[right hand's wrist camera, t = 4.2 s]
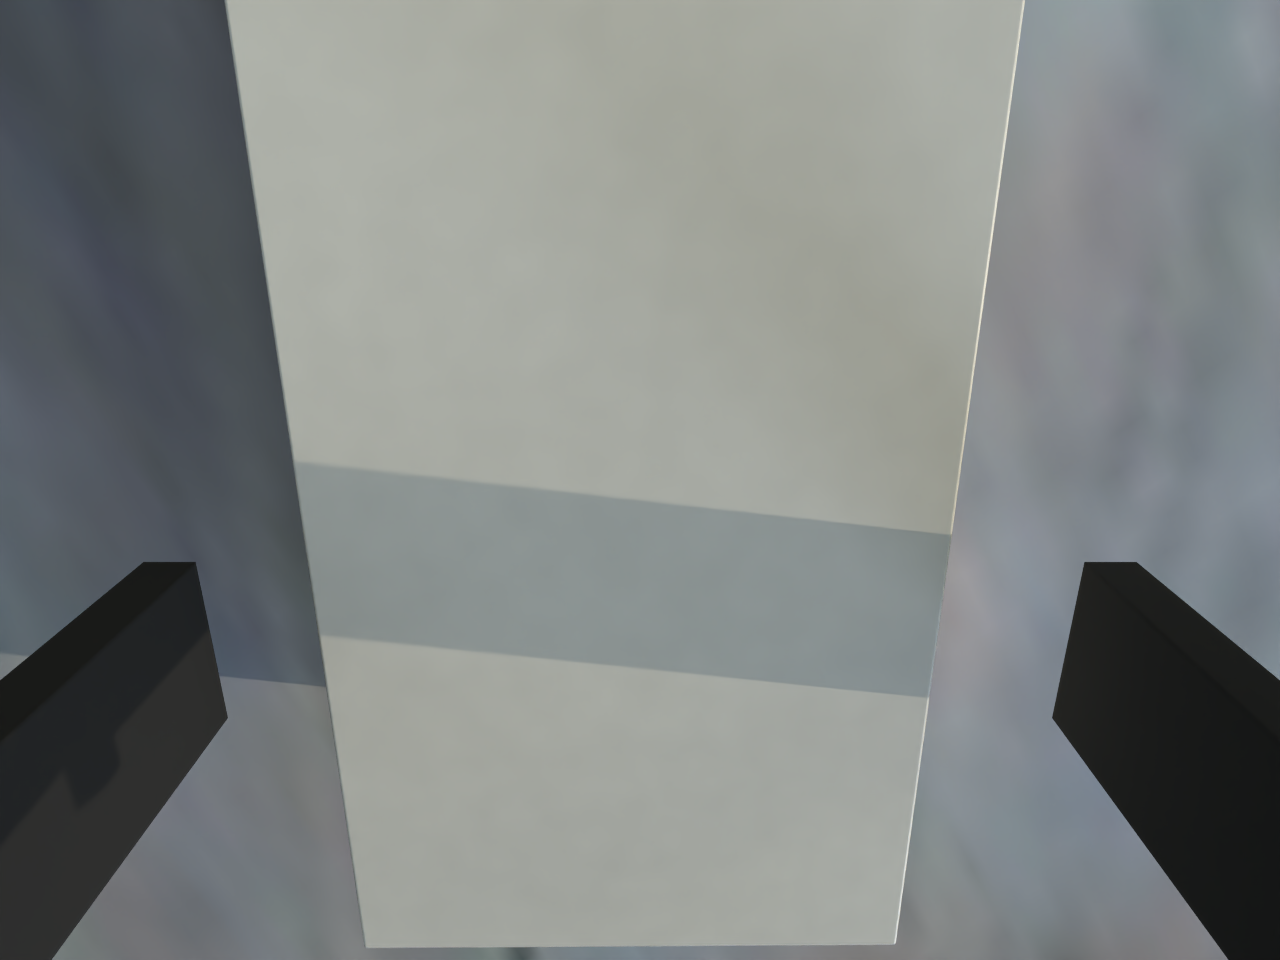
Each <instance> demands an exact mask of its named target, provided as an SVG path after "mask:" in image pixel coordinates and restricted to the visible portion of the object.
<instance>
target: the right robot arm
mask: <svg viewBox="0 0 1280 960" xmlns="http://www.w3.org/2000/svg"><path fill="white" fill-rule="evenodd" d="M227 718H228V717H227V712H226V707H225V702H224V697H223V693H222V688H221V683H220V678H219V673H218V668H217V664H216V659H215V654H214V649H213V644H212V639H211V635H210V630H209V625H208V620H207V615H206V611H205V606H204V601H203V596H202V591H201V586H200V582H199V577H198V572H197V567H196V562H143V563H142V564H141V565H140V566H138V567H137V568H136V569H135V570H133V571H132V572H131V573H130V574H129V575H127V576H126V577H125V578H124V579H123V580H121V581H120V582H119V583H118V584H117V585H115V586H114V587H113V588H112V589H110V590H109V591H108V592H107V593H106V594H104V595H103V596H102V597H101V598H100V599H98V600H97V601H96V602H95V603H93V604H92V605H91V606H90V607H89V608H87V609H86V610H85V611H84V612H83V613H81V614H80V615H79V616H78V617H77V618H75V619H74V620H73V621H72V622H70V623H69V624H68V625H67V626H66V627H64V628H63V629H62V630H61V631H60V632H58V633H57V634H56V635H55V636H53V637H52V638H51V639H50V640H49V641H47V642H46V643H45V644H44V645H43V646H41V647H40V648H39V649H38V650H37V651H35V652H34V653H33V654H32V655H30V656H29V657H28V658H27V659H26V660H24V661H23V662H22V663H21V664H20V665H18V666H17V667H16V668H15V669H14V670H12V671H11V672H10V673H9V674H7V675H6V676H5V677H4V678H3V679H1V680H0V960H52V958H53V957H54V956H55V954H56V953H57V951H58V950H59V949H60V947H61V946H62V945H63V943H64V942H65V940H66V939H67V938H68V936H69V935H70V934H71V932H72V931H73V929H74V928H75V927H76V925H77V924H78V923H79V921H80V920H81V919H82V917H83V916H84V914H85V913H86V912H87V910H88V909H89V908H90V906H91V905H92V903H93V902H94V901H95V899H96V898H97V897H98V895H99V894H100V892H101V891H102V890H103V888H104V887H105V886H106V884H107V883H108V881H109V880H110V879H111V877H112V876H113V875H114V873H115V872H116V870H117V869H118V868H119V866H120V865H121V864H122V862H123V861H124V860H125V858H126V857H127V855H128V854H129V853H130V851H131V850H132V849H133V847H134V846H135V844H136V843H137V842H138V840H139V839H140V838H141V836H142V835H143V833H144V832H145V831H146V829H147V828H148V827H149V825H150V824H151V822H152V821H153V820H154V818H155V817H156V816H157V814H158V813H159V812H160V810H161V809H162V807H163V806H164V805H165V803H166V802H167V801H168V799H169V798H170V796H171V795H172V794H173V792H174V791H175V790H176V788H177V787H178V785H179V784H180V783H181V781H182V780H183V779H184V777H185V776H186V774H187V773H188V772H189V770H190V769H191V768H192V766H193V765H194V764H195V762H196V761H197V759H198V758H199V757H200V755H201V754H202V753H203V751H204V750H205V748H206V747H207V746H208V744H209V743H210V742H211V740H212V739H213V737H214V736H215V735H216V733H217V732H218V731H219V729H220V728H221V726H222V725H223V724H224V722H225V721H226V720H227ZM1052 718H1053V720H1054V721H1055V722H1056V724H1057V725H1058V726H1059V728H1060V729H1061V731H1062V732H1063V733H1064V735H1065V736H1066V737H1067V739H1068V740H1069V742H1070V743H1071V744H1072V746H1073V747H1074V748H1075V750H1076V751H1077V753H1078V754H1079V755H1080V757H1081V758H1082V759H1083V761H1084V762H1085V764H1086V765H1087V766H1088V768H1089V769H1090V770H1091V772H1092V773H1093V774H1094V776H1095V777H1096V779H1097V780H1098V781H1099V783H1100V784H1101V785H1102V787H1103V788H1104V790H1105V791H1106V792H1107V794H1108V795H1109V796H1110V798H1111V799H1112V801H1113V802H1114V803H1115V805H1116V806H1117V807H1118V809H1119V810H1120V812H1121V813H1122V814H1123V816H1124V817H1125V818H1126V820H1127V821H1128V822H1129V824H1130V825H1131V827H1132V828H1133V829H1134V831H1135V832H1136V833H1137V835H1138V836H1139V838H1140V839H1141V840H1142V842H1143V843H1144V844H1145V846H1146V847H1147V849H1148V850H1149V851H1150V853H1151V854H1152V855H1153V857H1154V858H1155V860H1156V861H1157V862H1158V864H1159V865H1160V866H1161V868H1162V869H1163V870H1164V872H1165V873H1166V875H1167V876H1168V877H1169V879H1170V880H1171V881H1172V883H1173V884H1174V886H1175V887H1176V888H1177V890H1178V891H1179V892H1180V894H1181V895H1182V897H1183V898H1184V899H1185V901H1186V902H1187V903H1188V905H1189V906H1190V908H1191V909H1192V910H1193V912H1194V913H1195V914H1196V916H1197V917H1198V919H1199V920H1200V921H1201V923H1202V924H1203V925H1204V927H1205V928H1206V929H1207V931H1208V932H1209V934H1210V935H1211V936H1212V938H1213V939H1214V940H1215V942H1216V943H1217V945H1218V946H1219V947H1220V949H1221V950H1222V951H1223V953H1224V954H1225V956H1226V957H1227V958H1228V960H1280V680H1279V679H1277V678H1276V677H1275V676H1274V675H1273V674H1271V673H1270V672H1269V671H1268V670H1266V669H1265V668H1264V667H1263V666H1262V665H1260V664H1259V663H1258V662H1257V661H1256V660H1254V659H1253V658H1252V657H1251V656H1250V655H1248V654H1247V653H1246V652H1245V651H1243V650H1242V649H1241V648H1240V647H1239V646H1237V645H1236V644H1235V643H1234V642H1233V641H1231V640H1230V639H1229V638H1228V637H1226V636H1225V635H1224V634H1223V633H1222V632H1220V631H1219V630H1218V629H1217V628H1216V627H1214V626H1213V625H1212V624H1211V623H1210V622H1208V621H1207V620H1206V619H1205V618H1203V617H1202V616H1201V615H1200V614H1199V613H1197V612H1196V611H1195V610H1194V609H1193V608H1191V607H1190V606H1189V605H1188V604H1187V603H1185V602H1184V601H1183V600H1182V599H1180V598H1179V597H1178V596H1177V595H1176V594H1174V593H1173V592H1172V591H1171V590H1170V589H1168V588H1167V587H1166V586H1165V585H1163V584H1162V583H1161V582H1160V581H1159V580H1157V579H1156V578H1155V577H1154V576H1153V575H1151V574H1150V573H1149V572H1148V571H1147V570H1145V569H1144V568H1143V567H1142V566H1140V565H1139V564H1138V563H1137V562H1084V567H1083V572H1082V577H1081V582H1080V586H1079V591H1078V596H1077V601H1076V606H1075V611H1074V615H1073V620H1072V625H1071V630H1070V635H1069V639H1068V644H1067V649H1066V654H1065V659H1064V664H1063V668H1062V673H1061V678H1060V683H1059V688H1058V693H1057V697H1056V702H1055V707H1054V712H1053V717H1052Z"/></svg>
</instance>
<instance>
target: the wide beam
mask: <svg viewBox="0 0 1280 960" xmlns="http://www.w3.org/2000/svg"><path fill="white" fill-rule="evenodd" d="M224 1H225V7H226V14H227V21H228V28H229V34H230V41H231V48H232V55H233V61H234V68H235V75H236V82H237V88H238V95H239V102H240V109H241V115H242V122H243V129H244V136H245V142H246V149H247V156H248V163H249V169H250V176H251V183H252V190H253V196H254V203H255V210H256V217H257V223H258V230H259V237H260V244H261V250H262V257H263V264H264V271H265V277H266V284H267V291H268V298H269V304H270V311H271V318H272V325H273V331H274V338H275V345H276V352H277V358H278V365H279V372H280V379H281V385H282V392H283V399H284V406H285V413H286V419H287V426H288V433H289V440H290V446H291V453H292V460H293V467H294V473H295V480H296V487H297V494H298V500H299V507H300V514H301V521H302V527H303V534H304V541H305V548H306V554H307V561H308V568H309V575H310V581H311V588H312V595H313V602H314V608H315V615H316V622H317V629H318V635H319V642H320V649H321V656H322V662H323V669H324V676H325V683H326V689H327V696H328V703H329V710H330V716H331V723H332V730H333V737H334V743H335V750H336V757H337V764H338V770H339V777H340V784H341V791H342V797H343V804H344V811H345V818H346V824H347V831H348V838H349V845H350V851H351V858H352V865H353V872H354V878H355V885H356V892H357V899H358V906H359V912H360V919H361V926H362V933H363V939H364V946H365V947H366V948H441V947H599V946H757V945H893V944H895V943H896V937H897V930H898V922H899V915H900V908H901V900H902V893H903V886H904V878H905V871H906V864H907V857H908V849H909V842H910V835H911V827H912V820H913V813H914V806H915V798H916V791H917V784H918V776H919V769H920V762H921V754H922V747H923V740H924V733H925V725H926V718H927V711H928V703H929V696H930V689H931V682H932V674H933V667H934V660H935V652H936V645H937V638H938V630H939V623H940V616H941V609H942V601H943V594H944V587H945V579H946V572H947V565H948V558H949V550H950V543H951V536H952V528H953V521H954V514H955V506H956V499H957V492H958V485H959V477H960V470H961V463H962V455H963V448H964V441H965V433H966V426H967V419H968V412H969V404H970V397H971V390H972V382H973V375H974V368H975V361H976V353H977V346H978V339H979V331H980V324H981V317H982V309H983V302H984V295H985V288H986V280H987V273H988V266H989V258H990V251H991V244H992V237H993V229H994V222H995V215H996V207H997V200H998V193H999V185H1000V178H1001V171H1002V164H1003V156H1004V149H1005V142H1006V134H1007V127H1008V120H1009V113H1010V105H1011V98H1012V91H1013V83H1014V76H1015V69H1016V61H1017V54H1018V47H1019V40H1020V32H1021V25H1022V18H1023V10H1024V3H1025V0H224Z"/></svg>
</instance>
